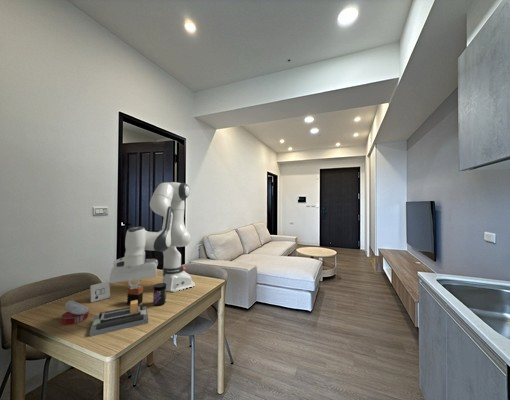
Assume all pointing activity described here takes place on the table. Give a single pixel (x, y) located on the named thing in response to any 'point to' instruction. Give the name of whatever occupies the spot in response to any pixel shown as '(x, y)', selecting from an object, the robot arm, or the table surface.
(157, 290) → the supplement container
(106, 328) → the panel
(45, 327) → the table surface
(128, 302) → the battery
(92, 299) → the electrical switch
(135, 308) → the toggle
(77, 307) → the canned food
